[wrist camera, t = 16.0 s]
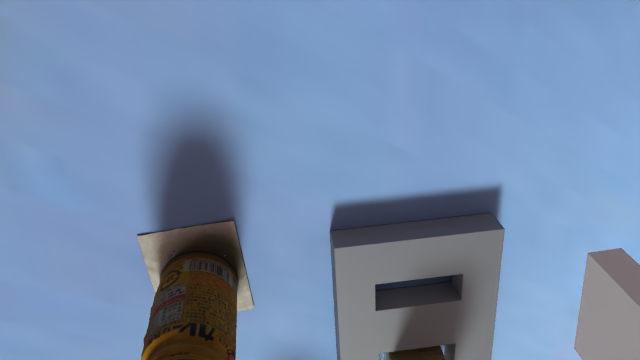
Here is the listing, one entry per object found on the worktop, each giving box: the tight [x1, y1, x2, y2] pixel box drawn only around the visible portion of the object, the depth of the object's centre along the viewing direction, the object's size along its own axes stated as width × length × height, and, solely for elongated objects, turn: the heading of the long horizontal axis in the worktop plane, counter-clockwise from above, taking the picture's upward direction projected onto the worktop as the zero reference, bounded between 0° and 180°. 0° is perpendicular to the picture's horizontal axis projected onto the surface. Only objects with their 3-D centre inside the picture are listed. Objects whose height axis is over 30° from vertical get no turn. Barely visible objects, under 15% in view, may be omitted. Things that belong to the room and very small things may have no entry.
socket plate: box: [330, 213, 505, 360], centre depth 47 cm, size 13×19×2 cm
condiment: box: [137, 221, 254, 360], centre depth 39 cm, size 7×8×12 cm
